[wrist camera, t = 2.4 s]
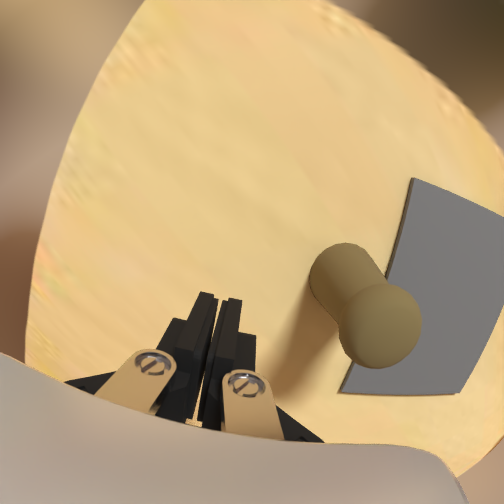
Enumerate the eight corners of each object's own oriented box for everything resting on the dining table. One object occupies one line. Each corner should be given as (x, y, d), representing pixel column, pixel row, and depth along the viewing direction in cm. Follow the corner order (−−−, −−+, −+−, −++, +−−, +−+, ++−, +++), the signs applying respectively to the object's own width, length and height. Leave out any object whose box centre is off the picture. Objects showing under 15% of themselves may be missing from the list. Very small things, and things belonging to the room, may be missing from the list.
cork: (358, 315, 26) (404, 390, 15) (298, 297, 26) (320, 375, 15) (385, 255, 24) (453, 305, 14) (324, 233, 24) (370, 275, 13)
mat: (457, 390, 28) (459, 393, 28) (340, 388, 28) (341, 391, 27) (523, 228, 23) (526, 229, 22) (411, 177, 23) (414, 177, 22)
